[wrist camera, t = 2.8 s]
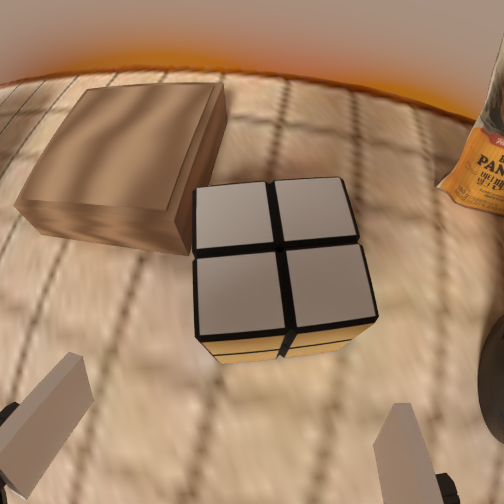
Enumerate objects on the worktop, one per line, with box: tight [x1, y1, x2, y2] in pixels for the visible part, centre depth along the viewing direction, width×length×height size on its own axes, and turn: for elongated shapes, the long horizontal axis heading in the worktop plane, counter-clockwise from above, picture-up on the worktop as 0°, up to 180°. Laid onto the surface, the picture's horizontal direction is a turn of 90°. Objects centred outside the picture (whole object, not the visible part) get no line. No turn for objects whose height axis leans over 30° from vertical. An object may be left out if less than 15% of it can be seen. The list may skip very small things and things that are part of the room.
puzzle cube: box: [192, 177, 379, 364], centre depth 23 cm, size 10×10×10 cm
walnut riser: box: [13, 82, 227, 256], centre depth 31 cm, size 18×18×6 cm
